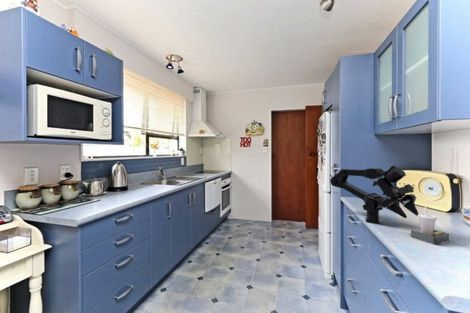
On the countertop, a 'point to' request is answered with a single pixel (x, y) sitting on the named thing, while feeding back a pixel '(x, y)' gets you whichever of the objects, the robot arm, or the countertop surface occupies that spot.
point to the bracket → (431, 237)
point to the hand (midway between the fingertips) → (412, 216)
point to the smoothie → (426, 223)
